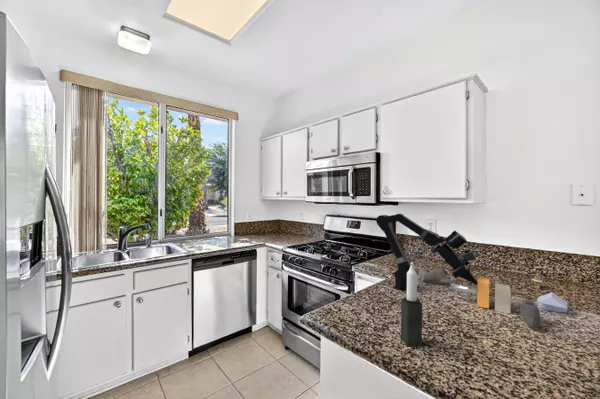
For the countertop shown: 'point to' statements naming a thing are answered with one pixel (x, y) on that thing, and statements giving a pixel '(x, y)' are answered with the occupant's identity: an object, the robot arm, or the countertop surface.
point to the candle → (411, 312)
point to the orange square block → (483, 292)
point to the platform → (538, 281)
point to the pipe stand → (492, 295)
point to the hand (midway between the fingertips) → (477, 283)
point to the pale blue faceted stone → (552, 302)
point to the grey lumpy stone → (435, 276)
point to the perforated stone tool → (530, 313)
